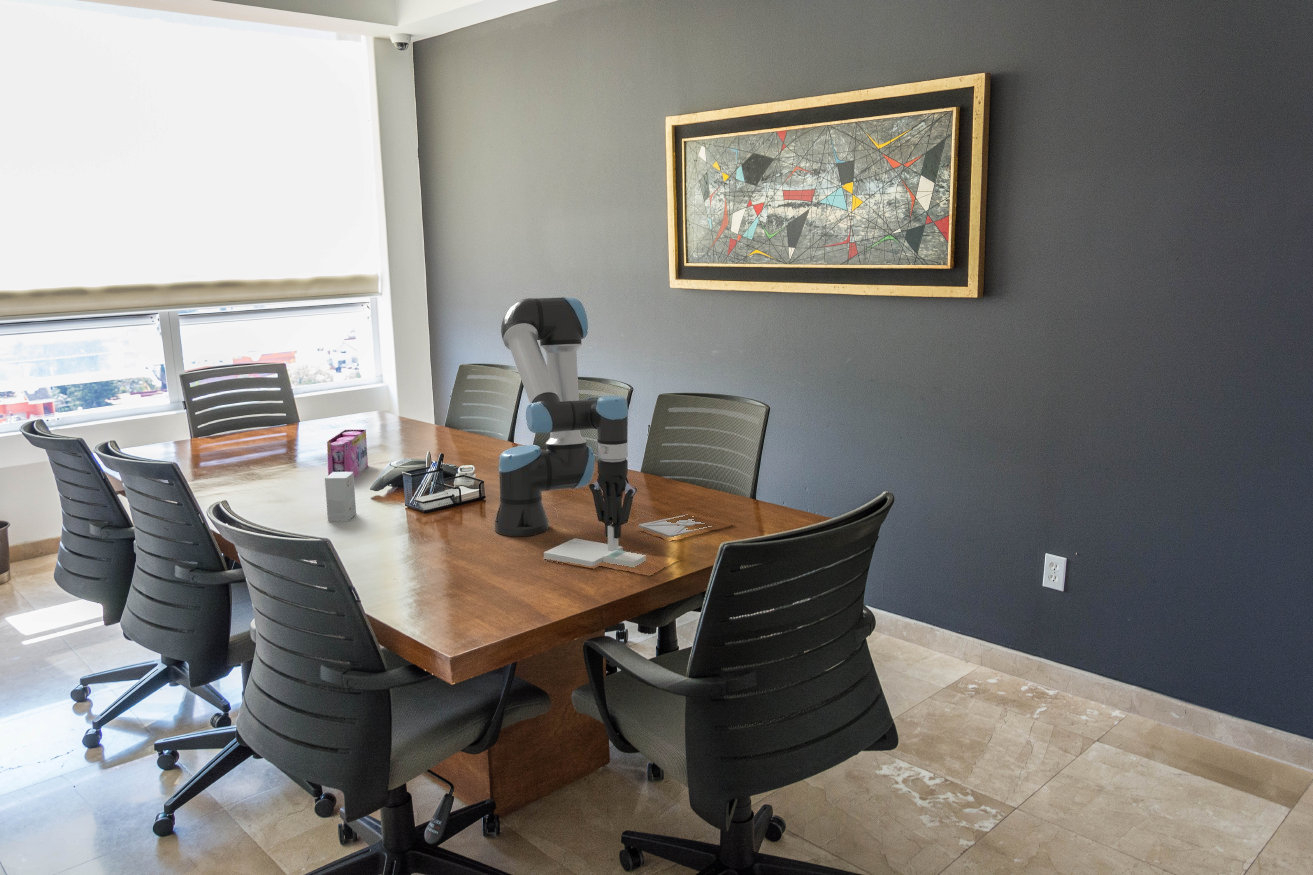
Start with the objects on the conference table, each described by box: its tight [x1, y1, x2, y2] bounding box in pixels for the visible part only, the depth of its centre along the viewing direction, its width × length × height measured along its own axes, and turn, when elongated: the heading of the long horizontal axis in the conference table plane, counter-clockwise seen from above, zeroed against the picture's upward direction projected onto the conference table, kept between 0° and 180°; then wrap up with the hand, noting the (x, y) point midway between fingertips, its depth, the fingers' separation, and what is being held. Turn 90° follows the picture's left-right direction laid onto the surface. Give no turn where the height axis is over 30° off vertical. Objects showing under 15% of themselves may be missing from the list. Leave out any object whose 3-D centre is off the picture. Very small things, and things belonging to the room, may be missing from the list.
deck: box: [543, 537, 624, 566], centre depth 249 cm, size 14×15×2 cm
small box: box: [324, 472, 357, 522], centre depth 283 cm, size 8×6×13 cm
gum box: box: [326, 429, 369, 478], centre depth 338 cm, size 24×8×14 cm, turn 2°
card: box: [603, 550, 646, 567], centre depth 243 cm, size 6×9×2 cm, turn 60°
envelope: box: [637, 513, 712, 537], centre depth 275 cm, size 24×2×14 cm
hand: (613, 549), depth 244 cm, fingers closed
